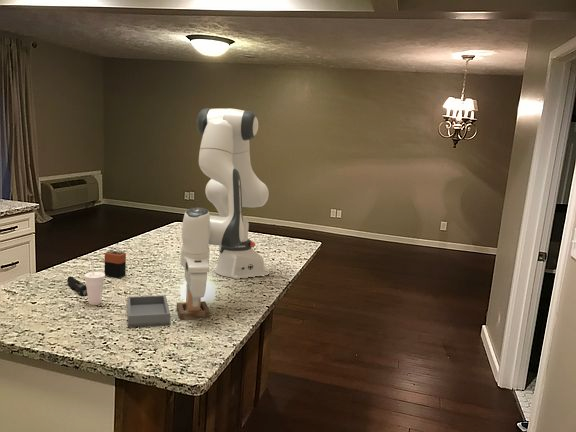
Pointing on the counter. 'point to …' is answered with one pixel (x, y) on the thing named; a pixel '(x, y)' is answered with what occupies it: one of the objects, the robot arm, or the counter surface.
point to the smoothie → (94, 286)
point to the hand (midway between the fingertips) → (193, 301)
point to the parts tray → (148, 311)
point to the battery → (115, 263)
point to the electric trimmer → (77, 286)
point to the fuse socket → (192, 314)
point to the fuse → (189, 301)
